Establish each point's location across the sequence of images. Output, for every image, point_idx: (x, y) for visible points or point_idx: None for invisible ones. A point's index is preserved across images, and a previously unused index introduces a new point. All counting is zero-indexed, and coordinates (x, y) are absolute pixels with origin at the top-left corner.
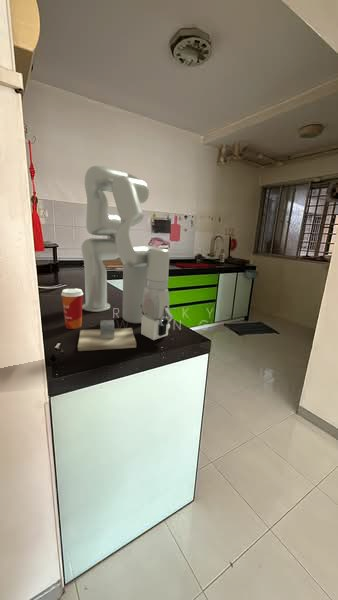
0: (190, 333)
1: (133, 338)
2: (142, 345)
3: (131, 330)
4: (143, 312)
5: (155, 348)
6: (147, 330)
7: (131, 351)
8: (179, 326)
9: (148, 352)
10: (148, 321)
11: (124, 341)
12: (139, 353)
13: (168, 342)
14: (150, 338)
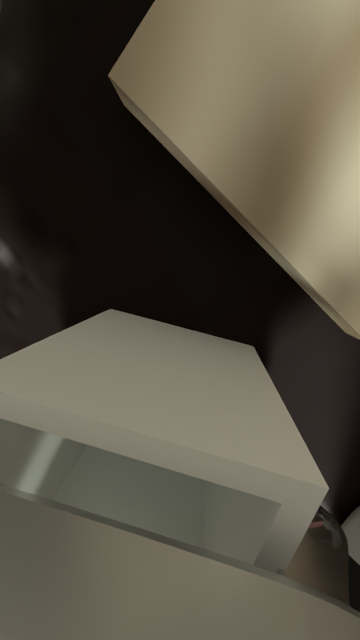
0: None
1: (200, 148)
2: (114, 178)
3: (334, 293)
4: (347, 610)
5: (19, 206)
6: (172, 345)
7: (107, 10)
8: None
9: (8, 112)
10: (133, 395)
11: (230, 5)
12: (39, 38)
13: (23, 341)
14: (144, 318)
